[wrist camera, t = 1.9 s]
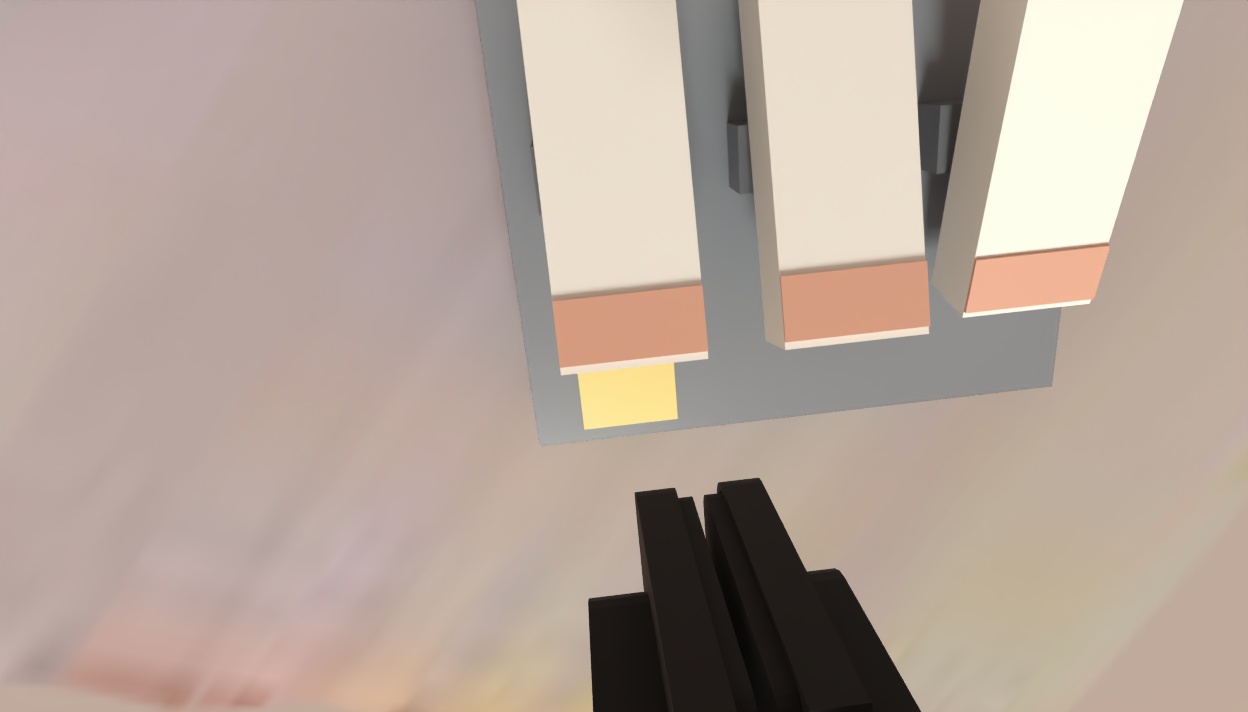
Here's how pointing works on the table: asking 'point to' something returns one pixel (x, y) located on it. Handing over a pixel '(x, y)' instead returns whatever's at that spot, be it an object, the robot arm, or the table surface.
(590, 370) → the rocker
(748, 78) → the rocker
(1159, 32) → the block
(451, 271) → the table surface
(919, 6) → the switch unit
